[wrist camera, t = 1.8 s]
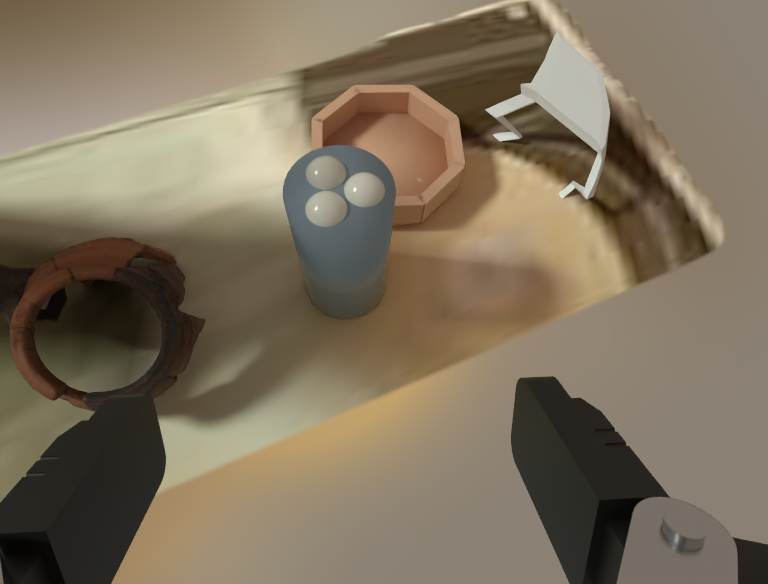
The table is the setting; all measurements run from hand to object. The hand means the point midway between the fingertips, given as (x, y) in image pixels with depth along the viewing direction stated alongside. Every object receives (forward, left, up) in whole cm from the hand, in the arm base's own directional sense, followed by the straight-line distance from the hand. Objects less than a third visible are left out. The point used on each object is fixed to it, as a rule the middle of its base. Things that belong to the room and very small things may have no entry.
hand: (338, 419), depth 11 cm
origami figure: (+15, +21, -17) cm, 31 cm away
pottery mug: (-14, +8, -17) cm, 24 cm away
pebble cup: (0, +11, -17) cm, 20 cm away
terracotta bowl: (+3, +20, -17) cm, 26 cm away
